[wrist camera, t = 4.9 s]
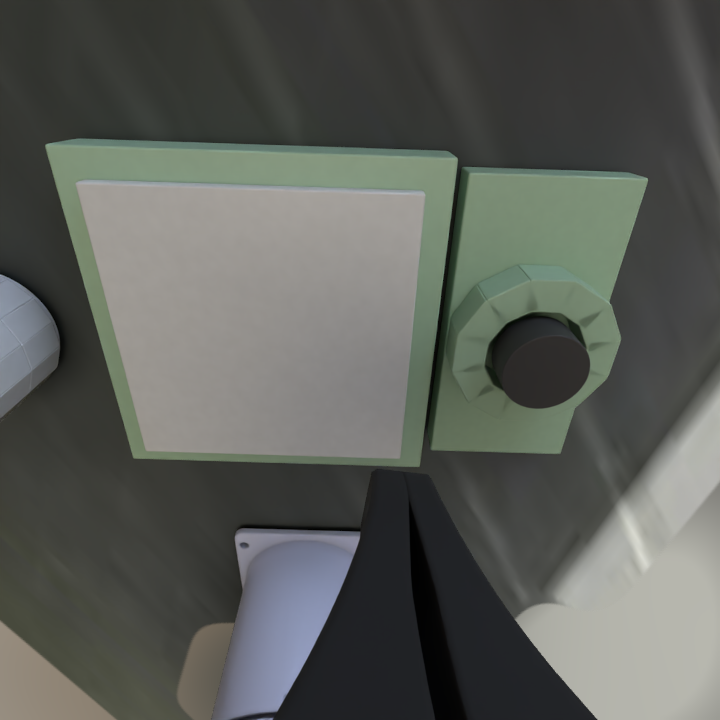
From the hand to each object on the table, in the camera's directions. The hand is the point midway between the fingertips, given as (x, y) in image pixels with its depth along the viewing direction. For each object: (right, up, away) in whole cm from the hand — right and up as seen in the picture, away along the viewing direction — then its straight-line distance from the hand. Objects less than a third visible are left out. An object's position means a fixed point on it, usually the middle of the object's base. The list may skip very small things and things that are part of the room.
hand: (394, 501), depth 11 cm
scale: (-4, +5, +8) cm, 11 cm away
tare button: (+6, +4, +6) cm, 9 cm away
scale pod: (+6, +5, +8) cm, 11 cm away
